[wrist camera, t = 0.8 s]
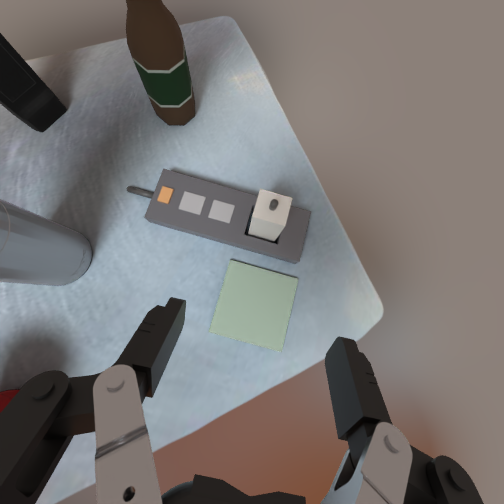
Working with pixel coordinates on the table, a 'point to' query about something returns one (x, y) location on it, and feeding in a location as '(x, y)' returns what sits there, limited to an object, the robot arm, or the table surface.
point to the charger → (269, 215)
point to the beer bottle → (160, 60)
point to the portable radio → (26, 91)
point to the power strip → (219, 215)
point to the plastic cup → (6, 398)
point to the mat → (254, 306)
